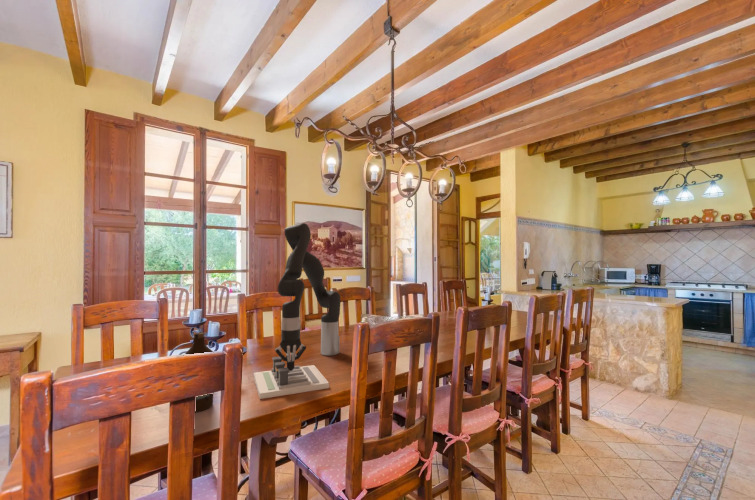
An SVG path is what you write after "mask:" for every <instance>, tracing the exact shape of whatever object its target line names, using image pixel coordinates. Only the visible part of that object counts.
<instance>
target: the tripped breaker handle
mask: <svg viewBox="0 0 755 500" xmlns="http://www.w3.org/2000/svg"><path fill="white" fill-rule="evenodd" d="M275 366H276V367H275V369H276V376H275V377H276V379H278V378H279V372H278V369H279V368H284V367H286V363H285V361H281V362H276V363H275Z"/></svg>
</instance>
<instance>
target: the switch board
mask: <svg viewBox="0 0 755 500" xmlns="http://www.w3.org/2000/svg"><path fill="white" fill-rule="evenodd" d="M271 358H272V359H271V360H272V362H273V363H272V368H271V369H270V370H266V371H265V370H264V371H256V372H253V378H254V379H253V381H254V382H255V383H254V384H255V387H256V391H257V395H258V398H259V400H261V399H269V398H273V397H274V398H276V397H281V396H287V395H294V394H299V393H301V394H302V393H306V392H314V391H319V390H325V389H329V388H330V382H329V381H328V380H327V379H326V377H325V376H324V375H323V374H322V373H321V372H320V370H319V369H318V368H317V367H316V366H315V365H314V364H311V365H303V366H300V365H294V369H293V370H292V371H289V369H288V368H287V366H284V368H279V369H278V372H279V378H278V379H276V377H275V376H276V369H275V367H276V366H275V363H276V362H283V360H282V358H281V357H280V356H279V355H278V356H273V357H271Z"/></svg>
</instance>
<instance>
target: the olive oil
mask: <svg viewBox="0 0 755 500" xmlns="http://www.w3.org/2000/svg"><path fill="white" fill-rule="evenodd" d="M192 341H193V343H192V345H191V347H190V348H189V349H188V350H187V351H186V352H185V353H184V354H194V353H204V352H213V350H212V349H211V348H209V347H208V346H207V345H206V344H205V332H195V333H193V340H192ZM213 353H214V352H213ZM213 402H214V393H213V394H207V395H203V396H198V397H196V412H195V413H199V412H203V411H206V410H208V409H209V408H211V407H212V406H213Z"/></svg>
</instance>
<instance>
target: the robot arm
mask: <svg viewBox="0 0 755 500" xmlns="http://www.w3.org/2000/svg"><path fill="white" fill-rule="evenodd" d="M311 235H312V234H311V229H310V227H309V225H308V224H307V223H305V222H300V223H297V224H292V225H289V226H287V227H285V228H284V236H285V240H286V241H287V244H288V245H289V247H290V248H291V250H292V251H291V253H290V254H289V256H288V257H287V260H286V264H285V271H284V272H283V275H282V276H281V278H280V280H279V282H278V284H277V292H278V295H280V296H281V297H294V299H293V300H292V301H286V302H284V303H283V304H282V306H281V308H282V309H281V311H282V312H281V327H280V328H281V329H280V331H281V332H280V333H281V334H280V335H281V339H280V343H279V345H278V347H276V348H274V351H275V352H276V354H277V356H278V357H279V356H280V357H281V358H282V362H286V367H287V368H288V369H289V371H292V370H293V369H294V366H295V361H296V360H299V359H300V358H301V356H302V355H303V353H304V352H305V351H306V349H307V346H306V345H305V344H302V341H301V326H302V325H301V318H300V317H301V316H300V315H301V313H300V312H301V311H300V310H301V309H300V308H301V301H302V297H303V294H304V292H305V282H304V281H303V280H302V279H300V278H301V276H302V273H303V272H304V274H305V275H306V278H307V279H308V281H309V283H310V285H311V288H312V289H313V292H314V295H315V297H316V301H317V303H318V305H319V306H320V307H321V308H324V309H328V312H327V313H326V314H323V315H321V319H320V327H321V328H320V354H321V355H322V356H335V355H339V354H340V339H341V338H340V335H339V318H340V314H341V302H342V301H341V295H340V293H339V292H338V291H334V290H327V289H326V288H325V285H324V277H325V269H324V267H323V265H322V262H321V260H320V259H319V258H318V257H317V256H315V255H313V254H312V253H311V252H309V251H308V248H309V244H310V240H311ZM282 350H283V352H284V353H285V355H284V353H282Z"/></svg>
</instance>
